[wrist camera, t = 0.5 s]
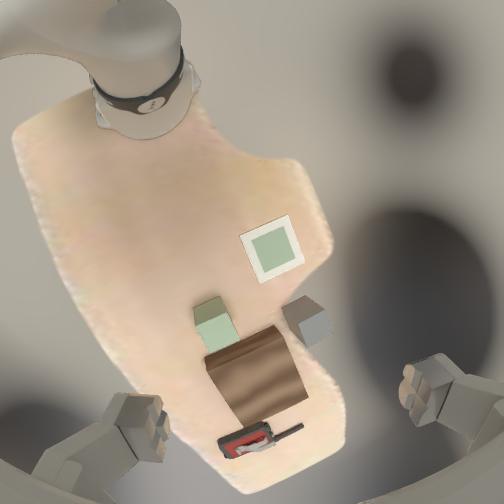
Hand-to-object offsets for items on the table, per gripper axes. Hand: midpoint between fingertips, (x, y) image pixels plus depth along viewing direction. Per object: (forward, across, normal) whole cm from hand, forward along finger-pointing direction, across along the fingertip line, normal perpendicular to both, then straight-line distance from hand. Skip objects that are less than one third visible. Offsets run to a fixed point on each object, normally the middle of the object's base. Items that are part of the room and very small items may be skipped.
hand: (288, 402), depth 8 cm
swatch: (+40, -4, +4) cm, 40 cm away
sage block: (+37, +8, +14) cm, 41 cm away
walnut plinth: (+38, +2, +28) cm, 47 cm away
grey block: (+40, -7, +17) cm, 44 cm away
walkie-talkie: (+37, +2, +46) cm, 59 cm away
